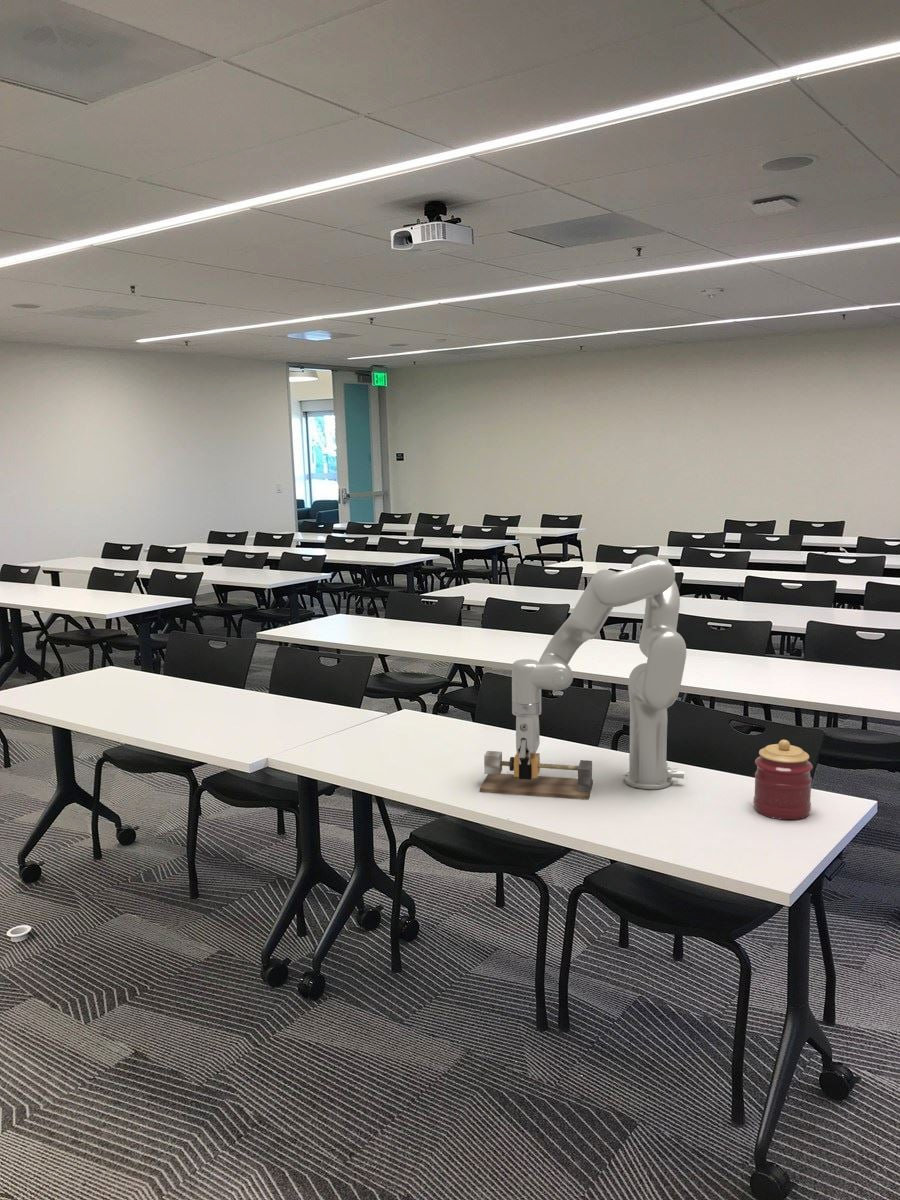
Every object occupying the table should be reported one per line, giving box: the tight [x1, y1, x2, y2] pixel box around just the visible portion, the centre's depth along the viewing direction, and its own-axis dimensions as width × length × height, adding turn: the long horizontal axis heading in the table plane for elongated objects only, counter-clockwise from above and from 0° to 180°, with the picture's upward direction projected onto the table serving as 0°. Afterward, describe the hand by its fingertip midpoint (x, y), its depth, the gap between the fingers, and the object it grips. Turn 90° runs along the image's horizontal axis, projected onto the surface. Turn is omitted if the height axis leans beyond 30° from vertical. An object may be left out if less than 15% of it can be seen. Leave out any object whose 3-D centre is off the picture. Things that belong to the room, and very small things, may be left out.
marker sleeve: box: [513, 752, 541, 778], centre depth 235 cm, size 6×5×5 cm
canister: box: [753, 739, 813, 820], centre depth 216 cm, size 13×13×18 cm
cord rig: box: [479, 750, 594, 801], centre depth 235 cm, size 28×12×8 cm, turn 76°
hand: (527, 774), depth 236 cm, fingers closed on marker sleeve, 5 cm apart
